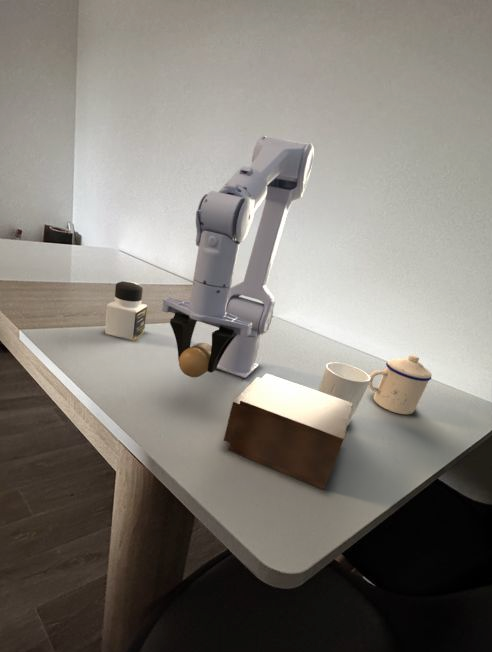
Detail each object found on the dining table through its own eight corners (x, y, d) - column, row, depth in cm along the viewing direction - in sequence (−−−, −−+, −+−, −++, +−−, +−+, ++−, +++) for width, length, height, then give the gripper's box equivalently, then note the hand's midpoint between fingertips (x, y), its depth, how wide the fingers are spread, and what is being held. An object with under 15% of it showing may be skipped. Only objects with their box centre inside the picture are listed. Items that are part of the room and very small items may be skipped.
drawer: (216, 437, 59) (225, 398, 56) (241, 408, 69) (250, 374, 66) (310, 476, 55) (325, 436, 52) (323, 439, 65) (336, 404, 62)
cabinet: (228, 450, 59) (240, 400, 55) (254, 416, 69) (266, 373, 66) (323, 490, 54) (343, 439, 51) (335, 447, 65) (353, 403, 61)
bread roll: (193, 361, 69) (198, 336, 67) (218, 370, 67) (223, 344, 65) (171, 375, 62) (175, 347, 60) (198, 385, 61) (203, 357, 59)
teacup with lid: (403, 398, 90) (424, 352, 85) (422, 418, 82) (446, 368, 77) (354, 389, 89) (372, 342, 84) (367, 409, 81) (389, 358, 76)
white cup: (351, 416, 77) (370, 370, 72) (351, 435, 70) (371, 386, 65) (312, 404, 78) (327, 358, 74) (307, 421, 71) (324, 372, 67)
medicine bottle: (133, 341, 90) (138, 289, 85) (104, 333, 91) (107, 282, 86) (144, 332, 97) (149, 284, 91) (117, 325, 97) (121, 277, 92)
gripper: (156, 272, 57) (146, 357, 63) (248, 299, 53) (228, 388, 59) (179, 268, 63) (168, 347, 69) (263, 292, 59) (243, 373, 65)
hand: (197, 365), depth 64 cm, fingers closed on bread roll, 5 cm apart
